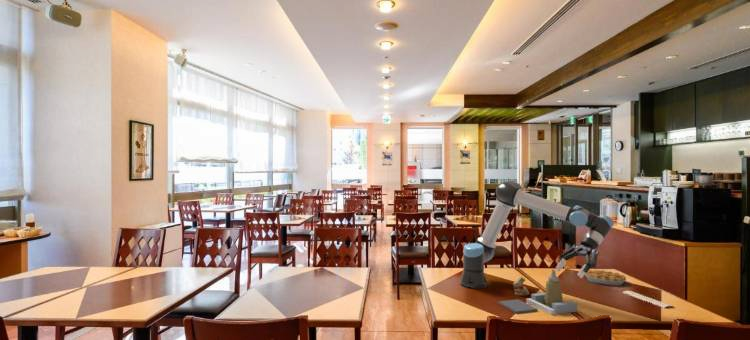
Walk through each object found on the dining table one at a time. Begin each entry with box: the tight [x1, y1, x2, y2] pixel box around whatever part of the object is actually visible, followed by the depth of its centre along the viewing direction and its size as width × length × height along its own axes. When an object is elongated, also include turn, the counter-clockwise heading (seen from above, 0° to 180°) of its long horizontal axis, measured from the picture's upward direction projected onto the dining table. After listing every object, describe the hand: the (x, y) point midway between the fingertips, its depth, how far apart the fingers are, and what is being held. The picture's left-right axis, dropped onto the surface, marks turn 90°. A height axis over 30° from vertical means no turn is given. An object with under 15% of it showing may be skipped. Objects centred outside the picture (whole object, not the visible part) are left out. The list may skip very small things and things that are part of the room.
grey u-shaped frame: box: [525, 292, 578, 316], centre depth 179 cm, size 17×15×4 cm
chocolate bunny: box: [512, 276, 530, 297], centre depth 198 cm, size 6×8×10 cm
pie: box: [584, 269, 627, 286], centre depth 224 cm, size 22×22×5 cm
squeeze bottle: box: [544, 269, 564, 308], centre depth 179 cm, size 8×8×18 cm
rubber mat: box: [497, 298, 539, 315], centre depth 178 cm, size 14×12×1 cm
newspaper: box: [622, 290, 675, 309], centre depth 190 cm, size 24×7×2 cm, turn 11°
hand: (568, 272), depth 181 cm, fingers open, 13 cm apart
